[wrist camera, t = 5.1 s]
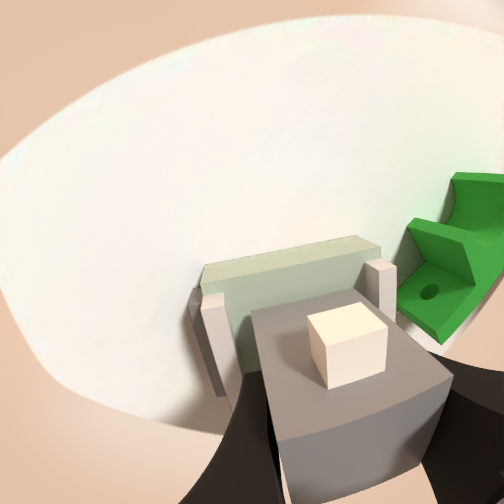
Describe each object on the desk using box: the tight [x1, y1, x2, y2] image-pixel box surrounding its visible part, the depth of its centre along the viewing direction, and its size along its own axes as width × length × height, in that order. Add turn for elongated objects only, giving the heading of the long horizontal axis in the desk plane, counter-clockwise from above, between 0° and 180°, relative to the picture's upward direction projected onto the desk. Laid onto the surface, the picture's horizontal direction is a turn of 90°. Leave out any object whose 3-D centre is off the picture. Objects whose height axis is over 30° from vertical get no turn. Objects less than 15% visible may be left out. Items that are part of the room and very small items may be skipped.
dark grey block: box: [250, 288, 454, 504], centre depth 8 cm, size 4×5×6 cm
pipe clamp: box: [396, 172, 504, 345], centre depth 11 cm, size 11×4×5 cm, turn 130°
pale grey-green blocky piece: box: [188, 235, 397, 412], centre depth 12 cm, size 8×7×4 cm
